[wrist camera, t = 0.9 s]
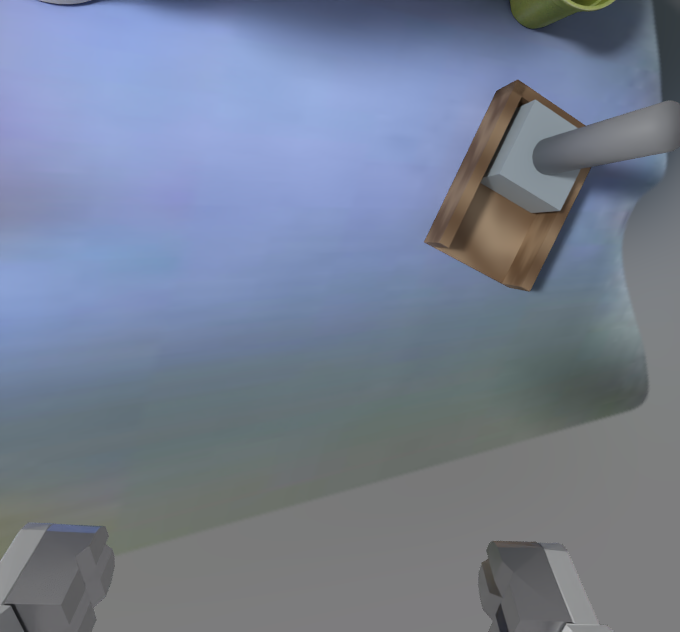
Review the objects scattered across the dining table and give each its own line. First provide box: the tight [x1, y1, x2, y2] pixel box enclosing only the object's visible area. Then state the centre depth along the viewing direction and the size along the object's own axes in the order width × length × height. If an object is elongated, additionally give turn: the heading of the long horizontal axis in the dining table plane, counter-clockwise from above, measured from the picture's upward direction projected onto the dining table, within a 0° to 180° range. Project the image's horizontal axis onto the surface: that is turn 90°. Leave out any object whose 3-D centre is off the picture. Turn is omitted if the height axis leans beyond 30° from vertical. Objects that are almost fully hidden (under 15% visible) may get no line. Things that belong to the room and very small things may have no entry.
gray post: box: [480, 100, 680, 213], centre depth 45 cm, size 8×8×19 cm
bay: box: [424, 80, 591, 291], centre depth 53 cm, size 18×12×4 cm, turn 154°
